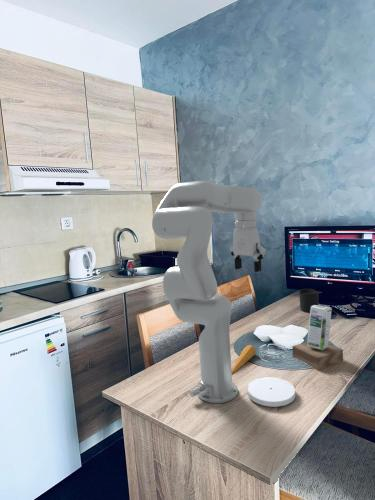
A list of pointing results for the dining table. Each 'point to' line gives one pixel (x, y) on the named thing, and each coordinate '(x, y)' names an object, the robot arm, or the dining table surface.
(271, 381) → the plastic lid
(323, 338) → the syrup box
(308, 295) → the pen holder
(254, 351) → the carrot
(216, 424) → the dining table surface
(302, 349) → the walnut block
